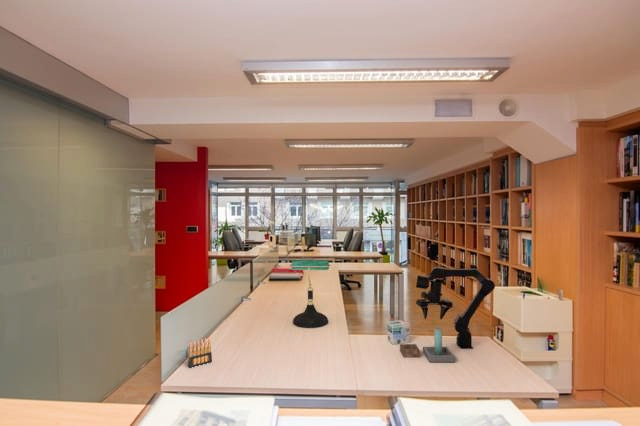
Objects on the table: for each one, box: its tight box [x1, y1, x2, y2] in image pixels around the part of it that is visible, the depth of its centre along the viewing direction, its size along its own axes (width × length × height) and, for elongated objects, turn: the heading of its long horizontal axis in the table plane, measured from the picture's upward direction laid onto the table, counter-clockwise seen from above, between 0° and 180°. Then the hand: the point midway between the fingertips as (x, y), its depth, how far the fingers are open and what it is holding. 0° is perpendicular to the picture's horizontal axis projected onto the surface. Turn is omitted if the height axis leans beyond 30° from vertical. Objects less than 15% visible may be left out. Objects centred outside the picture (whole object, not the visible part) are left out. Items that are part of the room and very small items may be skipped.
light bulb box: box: [387, 319, 411, 345], centre depth 192 cm, size 11×7×11 cm, turn 106°
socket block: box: [399, 343, 421, 358], centre depth 175 cm, size 8×8×4 cm
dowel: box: [433, 328, 443, 356], centre depth 170 cm, size 4×4×13 cm
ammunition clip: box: [187, 337, 213, 369], centre depth 165 cm, size 11×2×12 cm, turn 127°
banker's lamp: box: [289, 259, 331, 329], centre depth 227 cm, size 26×23×40 cm
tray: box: [422, 346, 456, 364], centre depth 170 cm, size 12×12×3 cm
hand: (433, 319), depth 189 cm, fingers open, 9 cm apart
